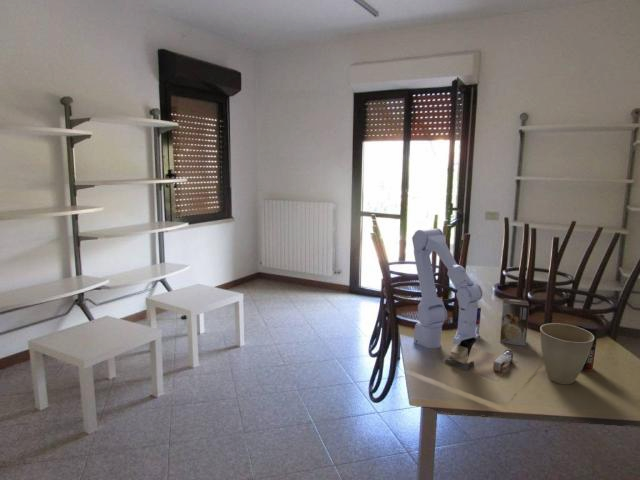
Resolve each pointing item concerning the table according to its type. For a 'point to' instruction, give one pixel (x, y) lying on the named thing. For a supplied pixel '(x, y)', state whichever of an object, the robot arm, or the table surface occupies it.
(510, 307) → the coffee box
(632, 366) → the table surface
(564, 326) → the plant pot
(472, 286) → the robot arm
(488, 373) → the plate
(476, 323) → the energy drink
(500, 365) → the hinged leg
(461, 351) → the leg stub
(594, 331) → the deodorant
